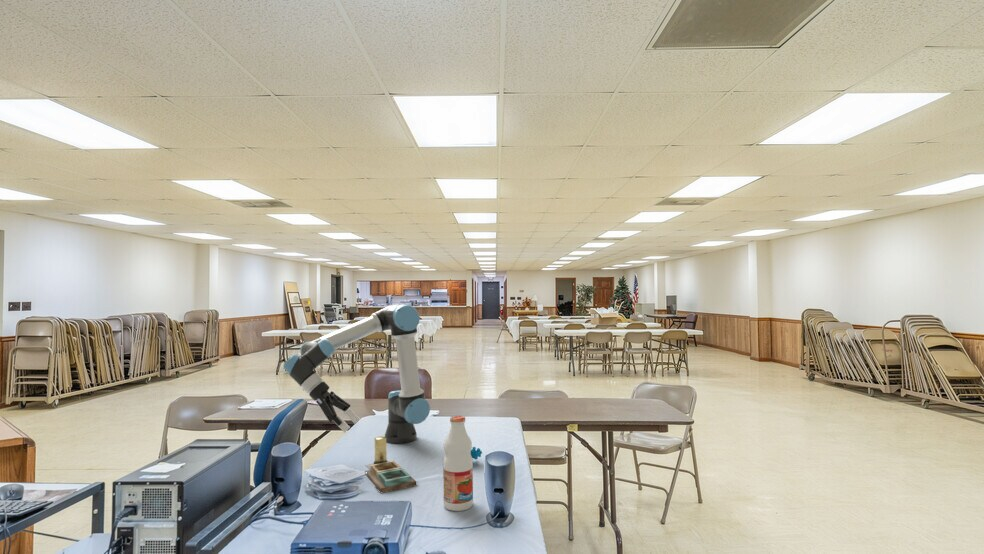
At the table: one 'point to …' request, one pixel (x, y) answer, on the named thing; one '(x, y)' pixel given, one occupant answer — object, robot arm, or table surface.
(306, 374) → the robot arm
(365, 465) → the mat
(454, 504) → the fruit juice
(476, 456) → the gear
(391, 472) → the brown wooden flat tray
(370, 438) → the table surface
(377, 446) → the gold metal cylinder
